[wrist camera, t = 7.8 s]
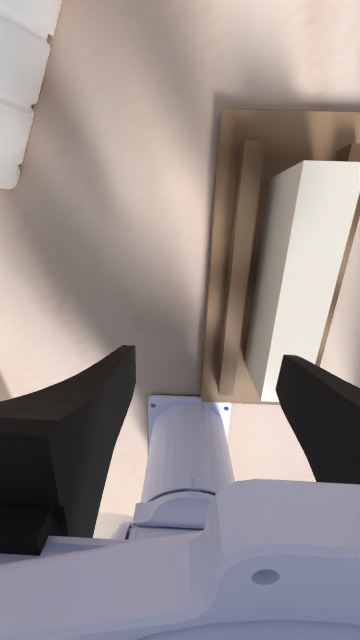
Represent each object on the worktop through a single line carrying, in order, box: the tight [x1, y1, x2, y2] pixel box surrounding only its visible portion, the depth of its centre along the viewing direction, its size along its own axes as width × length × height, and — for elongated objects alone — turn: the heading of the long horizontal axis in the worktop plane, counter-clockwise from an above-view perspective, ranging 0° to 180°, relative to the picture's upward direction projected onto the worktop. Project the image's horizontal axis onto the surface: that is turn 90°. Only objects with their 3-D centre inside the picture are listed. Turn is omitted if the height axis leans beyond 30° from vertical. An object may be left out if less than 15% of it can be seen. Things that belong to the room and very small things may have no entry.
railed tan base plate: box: [200, 108, 360, 405], centre depth 19 cm, size 22×10×2 cm, turn 178°
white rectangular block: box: [244, 160, 360, 402], centre depth 17 cm, size 14×3×5 cm, turn 178°
